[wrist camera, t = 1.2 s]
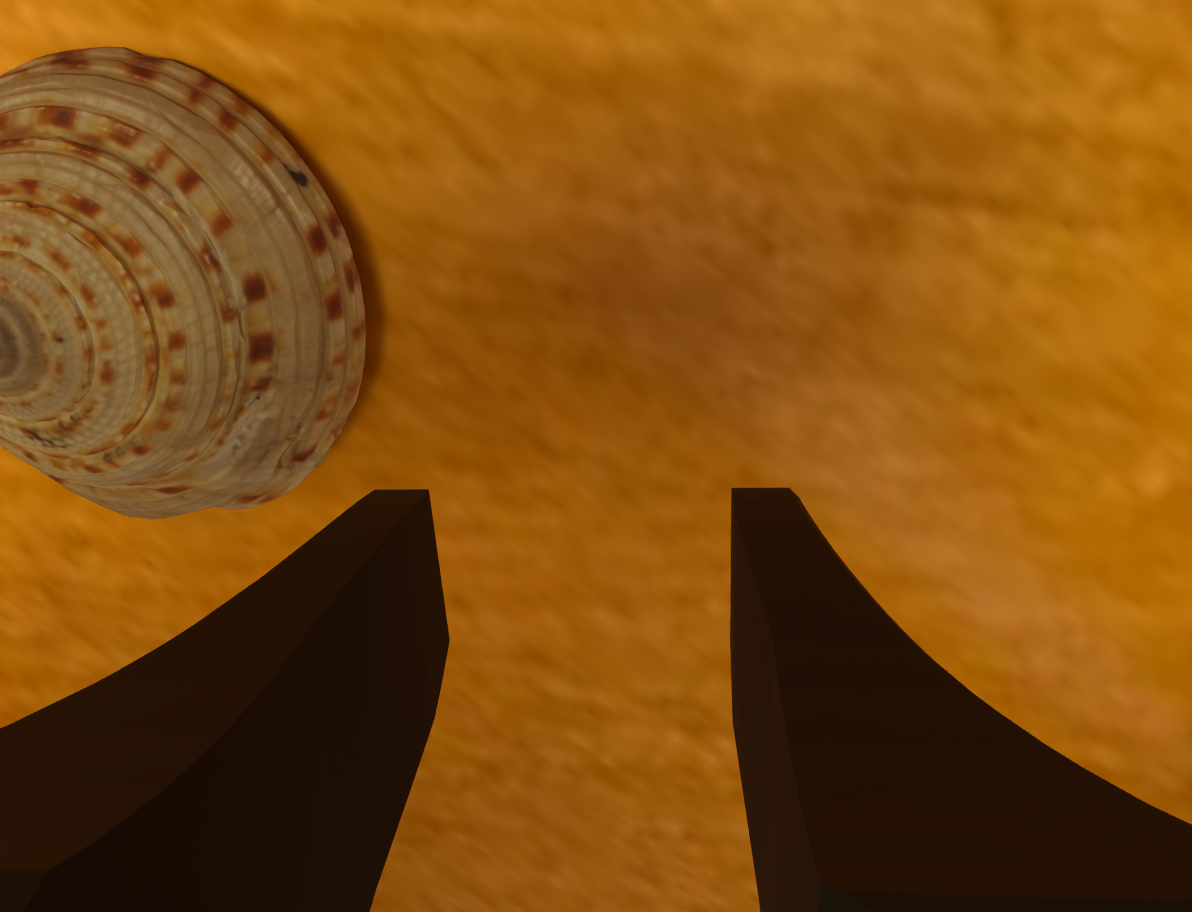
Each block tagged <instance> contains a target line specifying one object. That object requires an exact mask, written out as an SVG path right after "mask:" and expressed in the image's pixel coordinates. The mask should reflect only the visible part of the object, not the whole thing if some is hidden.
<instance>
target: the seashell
mask: <svg viewBox="0 0 1192 912" xmlns="http://www.w3.org/2000/svg"><path fill="white" fill-rule="evenodd" d="M365 344H366V326H365V307H364V301H363V295H362V289H361V283H360V277H359V273H358V271H357V268H356V265H355V261H354V257H353V252H352V249H351V247H350V244H349V241H348V238H347V236H346V233H345V230H344V228H343V226H342V224H341V222H340V219H339V217H338V215H337V213H336V211H335V209H334V207H333V205H332V203H331V202H330V200H329V198H328V196H327V194H326V193H325V191H324V190H323V188H322V187H321V185H320V183H319V182H318V180H317V179H316V178H315V176H314V175H313V174H312V172H311V171H310V169H309V168H308V167H307V165H306V164H305V163H304V161H303V160H302V158H301V157H300V156H299V154H298V153H297V152H296V151H295V150H294V148H293V147H292V146H291V145H290V144H289V142H288V141H287V140H286V139H285V138H284V137H283V135H282V134H281V133H280V132H279V131H278V130H277V129H276V128H275V127H274V126H273V125H272V124H271V123H270V122H269V121H268V120H267V119H265V118H264V117H263V116H262V115H261V114H260V113H259V112H258V111H257V110H255V109H254V108H253V107H251V106H250V105H249V104H247V103H246V102H245V101H244V100H242V99H241V98H240V97H238V96H237V95H236V94H234V93H233V92H232V91H230V90H229V89H227V88H226V87H224V86H222V85H221V84H219V83H217V82H216V81H214V80H212V79H211V78H209V77H207V76H205V75H204V74H202V73H200V72H198V71H196V70H194V69H192V68H190V67H187V66H185V65H183V64H181V63H179V62H176V61H174V60H169V59H163V58H157V57H151V56H144V55H142V54H140V53H137V52H134V51H131V50H129V49H126V48H116V47H99V48H89V49H79V50H70V51H65V52H60V53H56V54H51V55H47V56H43V57H39V58H36V59H34V60H32V61H30V62H28V63H26V64H23V65H21V66H19V67H17V68H15V69H13V70H11V71H9V72H7V73H5V74H3V75H2V76H0V445H1V446H2V447H3V448H5V449H6V450H7V451H9V452H10V453H12V454H13V455H15V456H16V457H18V458H20V459H21V460H23V461H24V462H26V463H28V464H30V465H32V466H33V467H36V468H38V469H39V470H40V471H41V472H42V473H43V474H45V475H46V476H48V477H50V478H52V479H53V480H55V481H57V482H59V483H60V484H61V485H62V486H63V487H64V488H66V489H68V490H70V491H72V492H74V493H76V494H78V495H80V496H82V497H84V498H86V499H88V500H90V501H92V502H94V503H96V504H98V505H101V506H103V507H106V508H108V509H111V510H113V511H116V512H118V513H121V514H123V515H126V516H129V517H136V518H148V519H155V518H166V517H172V516H177V515H181V514H185V513H189V512H194V511H198V510H202V509H206V508H210V507H220V508H229V509H244V508H250V507H254V506H258V505H262V504H264V503H267V502H269V501H272V500H274V499H276V498H279V497H281V496H283V495H284V494H286V493H287V492H289V491H290V490H292V489H294V488H295V487H297V486H298V485H299V484H300V483H301V482H302V481H303V479H304V478H305V477H306V476H307V475H308V474H309V473H311V472H312V471H313V470H314V469H315V468H316V467H318V466H319V465H320V464H322V462H323V460H324V458H325V456H326V454H327V452H328V450H329V448H330V446H331V445H332V443H333V442H334V440H335V439H336V438H337V437H338V436H339V434H340V433H341V432H342V431H343V430H342V428H343V426H344V425H345V424H346V423H347V418H348V416H349V414H350V412H351V410H352V408H353V407H354V405H355V403H356V401H357V397H358V393H359V389H360V385H361V381H362V375H363V369H364V363H365Z"/></svg>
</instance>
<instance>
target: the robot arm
mask: <svg viewBox="0 0 1192 912" xmlns="http://www.w3.org/2000/svg"><path fill="white" fill-rule="evenodd" d="M448 646H449V632H448V625H447V618H446V611H445V603H444V596H443V589H442V582H441V575H440V567H439V560H438V553H437V546H436V538H435V531H434V524H433V517H432V510H431V502H430V495H429V490H374V491H372V492H371V493H369V494H368V495H366V496H365V497H363V498H362V499H361V500H359V501H358V502H357V503H355V504H354V505H353V506H351V507H350V508H349V509H347V510H346V511H345V512H344V513H342V514H341V515H340V516H339V517H337V518H336V519H335V520H334V521H332V522H331V523H330V524H329V525H327V526H326V527H325V528H324V529H322V530H321V531H320V532H319V533H317V534H316V535H315V536H314V537H312V538H311V539H310V540H309V541H307V542H306V543H305V544H304V545H302V546H301V547H300V548H298V549H297V550H296V551H295V552H293V553H292V554H291V555H289V556H288V557H287V558H286V559H284V560H283V561H282V562H280V563H279V564H278V565H277V566H275V567H274V568H273V569H271V570H270V571H269V572H268V573H266V574H265V575H264V576H262V577H261V578H260V579H258V580H257V581H255V582H254V583H253V584H251V585H250V586H248V587H247V588H246V589H244V590H243V591H241V592H240V593H238V594H237V595H236V596H234V597H233V598H231V599H230V600H229V601H227V602H226V603H224V604H223V605H221V606H220V607H219V608H217V609H216V610H214V611H213V612H212V613H210V614H209V615H207V616H206V617H204V618H203V619H202V620H200V621H199V622H197V623H196V624H195V625H193V626H191V627H190V628H188V629H187V630H185V631H184V632H182V633H181V634H179V635H178V636H176V637H174V638H173V639H171V640H169V641H168V642H166V643H165V644H163V645H161V646H160V647H158V648H156V649H155V650H153V651H151V652H150V653H148V654H146V655H144V656H143V657H141V658H139V659H137V660H136V661H134V662H132V663H130V664H129V665H127V666H125V667H123V668H122V669H120V670H118V671H116V672H115V673H113V674H111V675H109V676H107V677H106V678H104V679H102V680H100V681H98V682H96V683H94V684H92V685H90V686H88V687H86V688H84V689H82V690H80V691H78V692H76V693H74V694H72V695H70V696H68V697H66V698H64V699H61V700H59V701H57V702H55V703H53V704H51V705H49V706H47V707H45V708H43V709H41V710H39V711H37V712H35V713H33V714H30V715H28V716H26V717H24V718H22V719H20V720H18V721H16V722H14V723H12V724H10V725H7V726H5V727H3V728H1V729H0V912H370V908H371V905H372V901H373V898H374V895H375V891H376V888H377V885H378V882H379V879H380V876H381V874H382V871H383V868H384V865H385V862H386V859H387V856H388V853H389V850H390V848H391V845H392V842H393V839H394V836H395V833H396V830H397V827H398V824H399V821H400V819H401V816H402V813H403V810H404V807H405V804H406V801H407V798H408V795H409V793H410V790H411V787H412V784H413V781H414V778H415V775H416V772H417V769H418V766H419V763H420V760H421V757H422V754H423V751H424V748H425V745H426V742H427V740H428V737H429V733H430V730H431V727H432V724H433V721H434V718H435V714H436V709H437V704H438V699H439V694H440V689H441V684H442V679H443V674H444V668H445V662H446V657H447V651H448ZM730 648H731V682H732V713H733V726H734V733H735V740H736V747H737V754H738V761H739V768H740V775H741V781H742V788H743V795H744V802H745V808H746V815H747V822H748V828H749V835H750V842H751V849H752V855H753V862H754V869H755V875H756V882H757V889H758V895H759V903H760V912H1192V825H1191V824H1189V823H1187V822H1185V821H1183V820H1181V819H1179V818H1176V817H1174V816H1172V815H1170V814H1168V813H1166V812H1164V811H1161V810H1159V809H1157V808H1155V807H1153V806H1151V805H1149V804H1147V803H1145V802H1144V801H1142V800H1140V799H1138V798H1136V797H1134V796H1133V795H1131V794H1129V793H1127V792H1125V791H1124V790H1122V789H1120V788H1118V787H1116V786H1115V785H1113V784H1111V783H1109V782H1108V781H1106V780H1104V779H1102V778H1100V777H1099V776H1097V775H1095V774H1093V773H1092V772H1090V771H1088V770H1086V769H1084V768H1083V767H1081V766H1079V765H1078V764H1076V763H1075V762H1073V761H1071V760H1070V759H1068V758H1066V757H1065V756H1063V755H1062V754H1060V753H1058V752H1057V751H1055V750H1053V749H1052V748H1050V747H1049V746H1047V745H1046V744H1044V743H1042V742H1041V741H1040V740H1038V739H1037V738H1035V737H1034V736H1032V735H1031V734H1029V733H1028V732H1027V731H1025V730H1024V729H1022V728H1021V727H1019V726H1018V725H1016V724H1015V723H1013V722H1012V721H1011V720H1009V719H1008V718H1006V717H1005V716H1003V715H1002V714H1000V713H999V712H998V711H996V710H995V709H993V708H992V707H991V706H989V705H988V704H987V703H985V702H984V701H983V700H981V699H980V698H979V697H978V696H976V695H975V694H974V693H972V692H971V691H970V690H968V689H967V688H966V687H965V686H964V685H962V684H961V683H960V682H959V681H958V680H957V679H955V678H954V677H953V676H952V675H951V674H949V673H948V672H947V671H946V670H945V669H943V668H942V667H941V666H940V665H939V664H938V663H936V662H935V661H934V660H933V659H932V658H931V657H930V656H929V655H927V654H926V653H925V652H924V651H923V650H922V649H921V648H920V647H919V646H918V645H917V644H916V643H915V642H914V641H913V640H912V639H911V638H910V637H909V636H908V635H907V634H906V633H905V632H904V631H903V630H902V629H901V628H900V627H899V626H898V624H897V623H896V622H895V621H894V620H893V619H892V618H891V617H890V616H889V615H888V614H887V613H886V612H885V611H884V610H883V608H882V607H881V606H880V605H879V604H878V603H877V602H876V601H875V600H874V598H873V597H872V596H871V595H870V594H869V593H868V591H867V590H866V589H865V588H864V587H863V585H862V584H861V583H860V582H859V581H858V579H857V578H856V577H855V576H854V575H853V573H852V572H851V571H850V570H849V568H848V567H847V566H846V565H845V564H844V562H843V561H842V560H841V558H840V557H839V556H838V554H837V553H836V552H835V551H834V549H833V548H832V546H831V545H830V544H829V542H828V541H827V540H826V538H825V537H824V535H823V534H822V533H821V531H820V530H819V528H818V527H817V525H816V524H815V522H814V521H813V519H812V518H811V516H810V515H809V513H808V512H807V510H806V508H805V507H804V505H803V503H802V502H801V500H800V498H799V497H798V496H797V495H796V494H795V493H794V492H793V491H792V490H791V489H790V488H732V494H731V619H730Z"/></svg>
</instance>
